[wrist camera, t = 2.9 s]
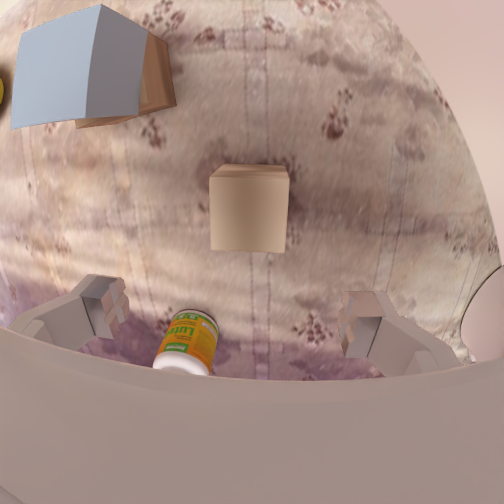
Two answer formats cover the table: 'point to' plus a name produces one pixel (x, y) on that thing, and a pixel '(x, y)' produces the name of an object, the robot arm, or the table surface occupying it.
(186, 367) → the supplement bottle
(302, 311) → the table surface
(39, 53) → the top block
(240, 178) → the maple block
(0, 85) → the lemon
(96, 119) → the bottom block
